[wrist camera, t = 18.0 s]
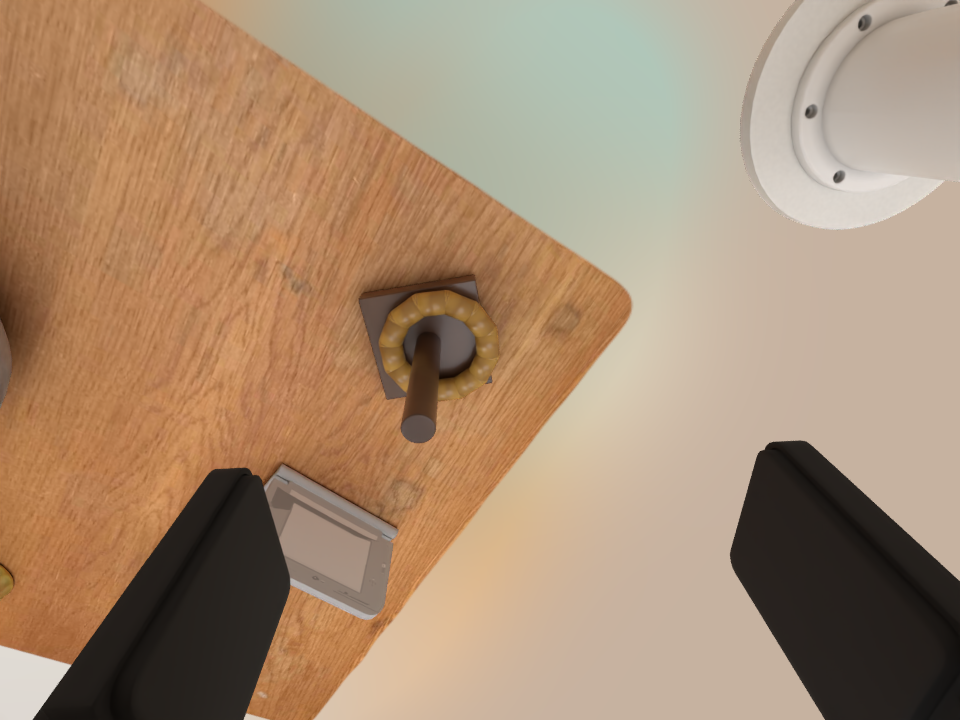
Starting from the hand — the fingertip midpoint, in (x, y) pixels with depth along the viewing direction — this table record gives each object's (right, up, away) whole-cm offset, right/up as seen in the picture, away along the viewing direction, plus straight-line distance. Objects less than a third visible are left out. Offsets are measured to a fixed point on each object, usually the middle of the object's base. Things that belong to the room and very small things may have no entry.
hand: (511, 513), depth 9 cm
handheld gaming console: (-17, -13, +39) cm, 44 cm away
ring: (-4, +4, +28) cm, 29 cm away
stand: (-5, +5, +30) cm, 31 cm away
